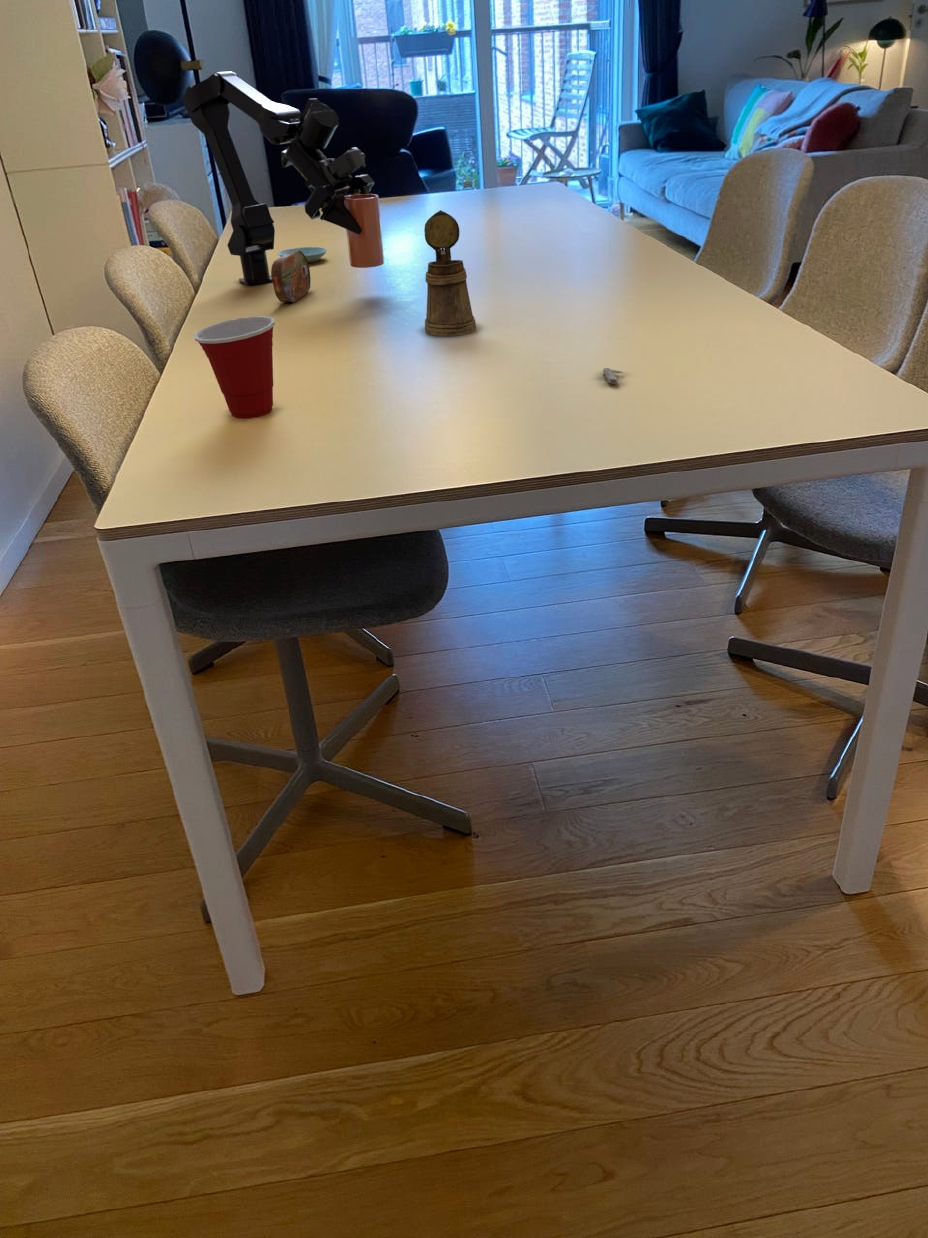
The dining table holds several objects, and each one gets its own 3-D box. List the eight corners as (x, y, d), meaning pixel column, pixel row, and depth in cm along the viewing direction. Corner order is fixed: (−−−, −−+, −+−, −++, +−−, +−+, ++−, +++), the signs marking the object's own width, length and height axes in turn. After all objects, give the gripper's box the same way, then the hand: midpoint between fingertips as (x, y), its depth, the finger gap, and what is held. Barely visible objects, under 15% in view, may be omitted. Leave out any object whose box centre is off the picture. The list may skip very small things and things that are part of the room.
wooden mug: (472, 315, 165) (466, 207, 155) (478, 334, 154) (472, 219, 144) (423, 318, 165) (414, 211, 155) (425, 338, 153) (416, 224, 144)
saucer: (323, 254, 226) (322, 244, 225) (332, 262, 216) (331, 252, 215) (276, 259, 223) (274, 250, 222) (283, 268, 214) (281, 257, 212)
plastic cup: (217, 402, 131) (199, 317, 124) (292, 396, 131) (278, 311, 125) (205, 429, 121) (185, 338, 115) (286, 422, 122) (270, 331, 116)
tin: (288, 306, 180) (281, 261, 175) (273, 306, 180) (266, 262, 176) (313, 289, 192) (307, 246, 188) (300, 289, 193) (293, 247, 188)
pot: (346, 263, 184) (339, 195, 177) (378, 259, 186) (372, 192, 179) (355, 269, 179) (348, 200, 172) (388, 265, 181) (382, 196, 174)
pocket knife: (629, 380, 126) (608, 378, 126) (628, 386, 127) (607, 384, 126) (621, 368, 131) (601, 366, 131) (620, 373, 132) (600, 372, 131)
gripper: (309, 138, 164) (368, 205, 166) (360, 128, 178) (414, 190, 180) (280, 185, 171) (337, 249, 173) (331, 172, 186) (383, 232, 187)
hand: (369, 229), depth 178 cm, fingers closed on pot, 7 cm apart
